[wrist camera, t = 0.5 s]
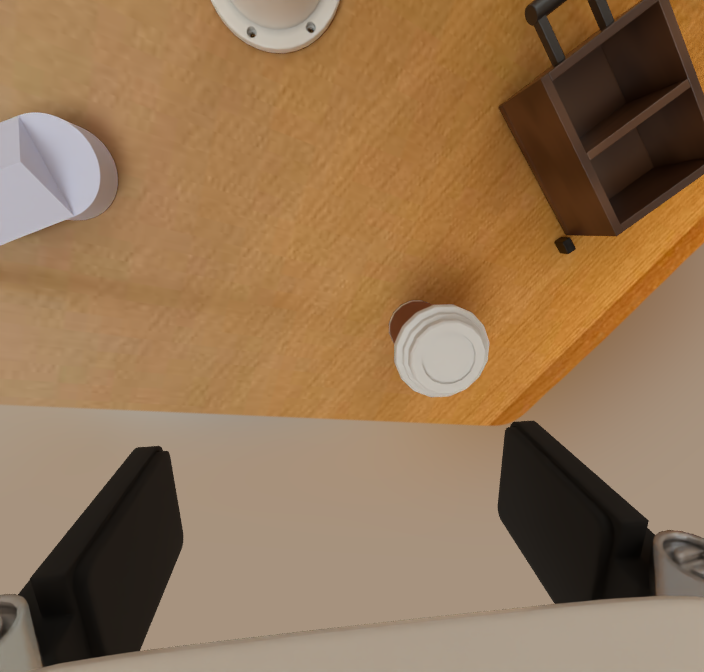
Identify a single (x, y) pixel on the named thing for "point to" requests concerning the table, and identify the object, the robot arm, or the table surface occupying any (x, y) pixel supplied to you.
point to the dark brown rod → (565, 245)
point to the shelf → (611, 118)
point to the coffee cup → (438, 347)
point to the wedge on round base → (51, 174)
